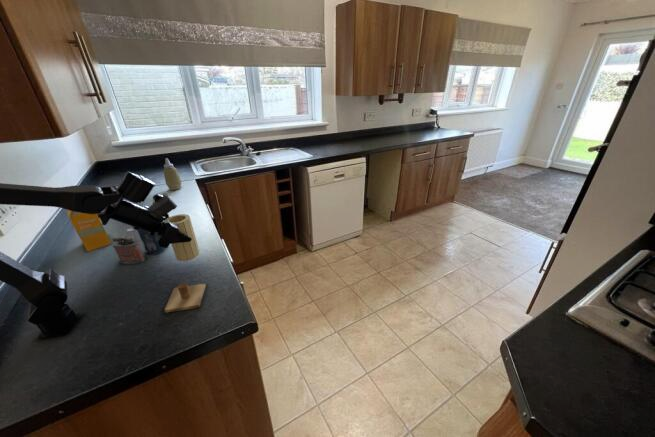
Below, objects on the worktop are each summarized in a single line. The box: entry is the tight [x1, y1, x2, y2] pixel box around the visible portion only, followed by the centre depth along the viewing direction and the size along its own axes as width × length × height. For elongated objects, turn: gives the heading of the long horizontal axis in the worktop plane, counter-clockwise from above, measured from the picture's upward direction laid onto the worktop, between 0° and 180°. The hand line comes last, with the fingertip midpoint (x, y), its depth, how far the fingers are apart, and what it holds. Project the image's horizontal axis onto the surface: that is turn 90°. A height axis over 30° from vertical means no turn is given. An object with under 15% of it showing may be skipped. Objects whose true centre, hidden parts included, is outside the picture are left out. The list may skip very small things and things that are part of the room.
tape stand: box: [164, 282, 207, 314], centre depth 78 cm, size 9×9×5 cm
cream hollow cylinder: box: [165, 213, 201, 262], centre depth 84 cm, size 7×7×13 cm
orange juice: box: [66, 209, 112, 252], centre depth 102 cm, size 8×9×20 cm
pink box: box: [111, 235, 146, 265], centre depth 93 cm, size 8×3×10 cm, turn 92°
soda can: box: [137, 229, 166, 255], centre depth 99 cm, size 7×7×12 cm
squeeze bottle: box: [163, 157, 182, 191], centre depth 154 cm, size 8×8×18 cm
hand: (187, 235), depth 84 cm, fingers closed on cream hollow cylinder, 7 cm apart
